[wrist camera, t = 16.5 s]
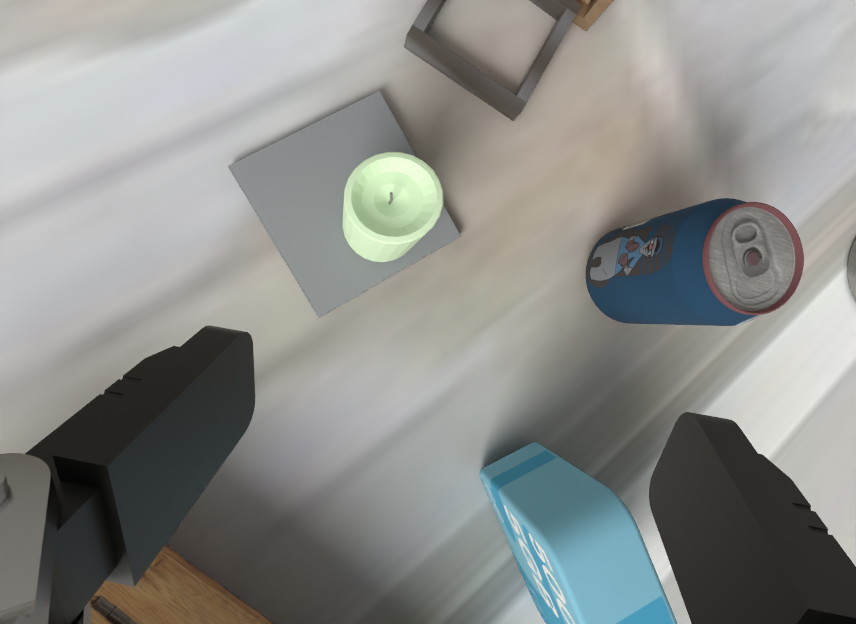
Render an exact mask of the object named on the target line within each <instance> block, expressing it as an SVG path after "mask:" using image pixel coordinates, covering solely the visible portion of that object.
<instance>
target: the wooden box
mask: <svg viewBox="0 0 856 624" xmlns="http://www.w3.org/2000/svg"><path fill="white" fill-rule="evenodd" d="M89 603H90V606H91V624H274V623H273V622H271V621H270V620H268V619H267V618H266V617H265V616H264V615H262V614H261V613H259V612H258V611H257V610H255V609H254V608H252V607H251V606H249V605H248V604H246V603H245V602H244V601H243V600H241V599H240V598H239V597H237V596H235V595H234V594H232V593H231V592H229V591H228V590H227V589H225V588H224V587H223V586H221V585H220V584H219V583H218V582H216V581H215V580H213V579H212V578H211V577H209V576H208V575H206V574H205V573H204V572H202V571H201V570H199V569H198V568H197V567H195V566H194V565H193V564H191V563H190V562H188V561H187V560H186V559H184V558H183V557H181V556H180V555H179V554H177V553H176V552H175V551H173V550H172V549H171V548H169V547H168V546H166V545H164V547H163V548H162V549H161V551H160V552H159V554H158V555H157V556H156V558H155V559H154V561H153V562H152V563H151V565H150V566H149V568H148V569H147V570H146V572H145V573H144V575H143V576H142V577H141V579H140V580H139V582H138V583H137V584H136V586H135V587H132V586H128V585H123V584H118V583H114V582H109V581H105V582H104V583H103V584H102V586H101V587H100V588H99V589H98V591H97V592H96V593H95V594H94V596H93V597H92V598H91V600H90V601H89Z"/></svg>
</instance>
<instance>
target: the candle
mask: <svg viewBox="0 0 856 624" xmlns="http://www.w3.org/2000/svg"><path fill="white" fill-rule="evenodd" d="M442 207H443V190H442V186H441V183H440V180H439V178H438V177H437V175H436V174H435V172H434V170H433V169H432V168H431V167H430V166H428V165H427V164H426V163H425V162H424V161H422V160H420V159H419V158H417V157H415V156H413V155H409V154H406V153H402V152H385V153H381V154H376V155H374V156H372V157H370V158H368V159H366V160H364V161H363V162H362V163H361V164H359V165H358V166H357V167H356V168H355V169H354V171H353V172H352V174H351V175H350V177H349V178H348V181H347V184H346V187H345V190H344V206H343V225H342V227H343V231H344V236H345V238H346V240H347V242H348V244H349V246H350V247H351V248H352V249H353V250H354V251H355V252H356V253H357V254H359V255H360V256H362V257H363V258H365V259H368V260H371V261H374V262H388V261H393V260H396V259H398V258H399V257H401V256H403V255H404V254H405V253H406V252H407V251H409V250H410V249H411V248H412V247H413V246H414V245H415V244H416V243H417V242H418V241H419V240H420V239H421V238H422V237H423V236H424V235H425V234H426V233H427V232H428V231H429V230H430V229H431V228H432V227H433V226H434V225H435V223H436V222H437V220H438V218H439V217H440V214H441V211H442Z"/></svg>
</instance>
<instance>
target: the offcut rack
mask: <svg viewBox="0 0 856 624" xmlns="http://www.w3.org/2000/svg"><path fill="white" fill-rule="evenodd" d="M445 1H446V0H428V1H427V2H426V4H425V5H424V7H423V9H422V10H421V12H420V14H419V15H418V17H417V19H416V20H415V22H414V24H413V25H412V27H411V29H410V30H409V32H408V34H407V37H406V40H405V44H404V47H405V48H406V49H408V50H409V51H411V52H412V53H414V54H415V55H417V56H418V57H420V58H421V59H422V60H424V61H425V62H427V63H428V64H430V65H431V66H433V67H434V68H436V69H437V70H439V71H440V72H442V73H443V74H445V75H446V76H448V77H449V78H451V79H452V80H454V81H455V82H457V83H458V84H459V85H461V86H462V87H464V88H465V89H467V90H468V91H470V92H471V93H473V94H474V95H476V96H477V97H479V98H480V99H482V100H483V101H485V102H486V103H488V104H489V105H491V106H492V107H494V108H495V109H496V110H498V111H499V112H501V113H502V114H504V115H505V116H507V117H508V118H510V119H511V120H513V121H514V120H515V118H516V117H517V116H518V115H519V114H520V113H521V112H522V110H523V108H524V106H525V105H526V103H527V101H528V99H529V97H530V96H531V94H532V92H533V90H534V89H535V87H536V85H537V83H538V81H539V80H540V78H541V76H542V74H543V73H544V71H545V69H546V67H547V65H548V64H549V62H550V60H551V58H552V57H553V55H554V53H555V51H556V50H557V48H558V46H559V44H560V42H561V41H562V39H563V37H564V35H565V34H566V32H567V30H568V28H569V26H570V25H571V23H572V21H573V22H574V23H576V24H577V25H578V26H580V27H581V28H582V29H584V30H585V31H587V30H588V29H589V28H590V26H591V25H592V24H593V23H594V22H595V21H596V20H597V18H598V17H599V16H600V15H601V14H602V13H603V12H604V11H605V9H606V8H607V7H608V6H609V5H610V4H611V3H612V1H613V0H530V1H531V2H533V3H534V4H536V5H537V6H538V7H540V8H541V9H542V10H544V11H545V12H547V13H548V14H549V15H551V16H552V17H553V18H555V19H556V20H557V22H556V24H555V26H554V27H553V29H552V31H551V33H550V34H549V36H548V38H547V40H546V42H545V43H544V45H543V47H542V49H541V50H540V52H539V54H538V56H537V57H536V59H535V61H534V63H533V64H532V66H531V68H530V70H529V72H528V73H527V75H526V77H525V79H524V80H523V82H522V84H521V86H520V87H519V89H518V91H517V93H516V94H513V93H512V92H510V91H509V90H507V89H506V88H505V87H503V86H502V85H500V84H499V83H497V82H496V81H494V80H493V79H491V78H490V77H489V76H487V75H486V74H484V73H483V72H481V71H480V70H478V69H477V68H475V67H474V66H473V65H471V64H470V63H468V62H467V61H465V60H464V59H462V58H461V57H459V56H458V55H456V54H455V53H454V52H452V51H451V50H449V49H448V48H446V47H445V46H443V45H442V44H440V43H439V42H438V41H436V40H435V39H433V38H432V37H430V36H429V35H427V34H426V33H427V31H428V29H429V28H430V26H431V24H432V23H433V21H434V19H435V18H436V16H437V14H438V13H439V11H440V9H441V8H442V6H443V4H444V2H445Z"/></svg>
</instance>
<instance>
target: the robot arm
mask: <svg viewBox="0 0 856 624" xmlns="http://www.w3.org/2000/svg"><path fill="white" fill-rule="evenodd" d="M848 280H849V286H850V290H851V292H852V295H853V298H854V300H855V302H856V240H855V241H854V243H853V246H852V249H851V251H850V255H849V261H848ZM254 406H255V383H254V358H253V341H252V338H251V335H250V334H249V333H248V332H243V331H237V330H232V329H226V328H221V327H215V326H205V327H204V328H202V329H201V330H200V331H199V332H197V333H196V334H195V335H194V336H193V337H192V338H190V339H189V340H188V341H187V342H186V343H184V344H183V345H182V346H181V347H176V346H173V347H171V348H168V349H166V350H164V351H161V352H159V353H157V354H154V355H152V356H150V357H147V358H145V359H144V360H142V361H141V362H140V363H139V364H137V365H136V366H135V367H134V368H132V369H131V370H130V371H129V372H127V373H126V374H125V375H124V376H123V379H122V380H120V379H119V380H117V381H116V382H115V383H114V384H112V385H111V386H110V387H108V388H107V389H106V390H105V393H104V394H103V395H98V396H97V397H96V398H95V399H93V400H92V401H91V402H90V403H88V404H87V405H86V406H85V407H83V408H82V409H81V410H80V411H78V412H77V413H76V414H74V415H73V416H72V417H71V418H69V419H68V420H67V421H66V422H64V423H63V424H62V425H61V426H59V427H58V428H57V429H56V430H54V431H53V432H52V433H51V434H49V435H48V436H47V437H46V438H44V439H43V440H42V441H40V442H39V443H38V444H37V445H35V446H34V447H33V448H32V449H30V450H29V451H28V452H27V453H25V454H18V453H9V454H0V624H91V606H90V603H89V601H90V600H91V598H92V597H93V596H94V594H95V593H96V592H97V591H98V589H99V588H100V587H101V586H102V584H103V583H104V582H105V581H109V582H114V583H118V584H123V585H128V586H132V587H135V586H136V584H137V583H138V582H139V580H140V579H141V577H142V576H143V575H144V573H145V572H146V570H147V569H148V568H149V566H150V565H151V563H152V562H153V561H154V559H155V558H156V556H157V555H158V554H159V552H160V551H161V549H162V548H163V547H164V545H165V544H166V542H167V541H168V540H169V538H170V537H171V535H172V534H173V533H174V531H175V530H176V528H177V527H178V526H179V524H180V523H181V521H182V520H183V519H184V517H185V516H186V514H187V513H188V512H189V510H190V509H191V507H192V506H193V505H194V503H195V502H196V500H197V499H198V497H199V496H200V495H201V493H202V492H203V490H204V489H205V488H206V486H207V485H208V483H209V482H210V481H211V479H212V478H213V476H214V475H215V474H216V472H217V471H218V469H219V468H220V467H221V465H222V464H223V462H224V461H225V460H226V458H227V457H228V455H229V454H230V453H231V451H232V450H233V448H234V447H235V446H236V444H237V443H238V441H239V440H240V439H241V437H242V436H243V434H244V433H245V431H246V430H247V428H248V426H249V424H250V421H251V419H252V415H253V411H254ZM649 500H650V507H651V511H652V514H653V517H654V519H655V522H656V525H657V528H658V531H659V533H660V536H661V539H662V542H663V545H664V547H665V550H666V553H667V556H668V559H669V561H670V564H671V567H672V570H673V572H674V575H675V578H676V581H677V584H678V586H679V589H680V592H681V595H682V598H683V600H684V603H685V606H686V609H687V612H688V614H689V617H690V620H691V623H692V624H856V567H855V565H854V564H853V563H852V561H851V560H850V558H849V557H848V556H847V554H846V553H845V552H844V550H843V549H842V548H841V546H840V545H839V544H838V542H837V541H836V539H835V538H834V537H833V535H828V532H827V531H828V529H827V527H826V526H825V524H824V523H823V522H822V520H821V519H820V518H819V516H818V515H817V514H816V512H814V511H811V509H810V508H811V505H810V504H809V503H808V501H807V500H806V499H805V497H804V496H803V495H802V493H801V492H800V491H799V489H798V488H797V486H796V485H795V484H794V482H793V481H792V480H791V479H790V478H789V477H788V476H787V475H786V474H784V473H783V472H782V471H781V470H780V469H779V468H777V467H776V466H775V465H774V464H773V463H772V462H770V461H769V460H768V459H767V458H766V457H765V456H763V455H762V454H758V453H757V452H756V450H755V449H754V448H753V446H752V445H751V443H750V442H749V440H748V439H747V437H746V436H745V435H744V433H743V432H742V430H741V429H740V427H739V426H738V425H737V424H736V423H735V422H734V421H732V420H729V419H723V418H718V417H712V416H707V415H701V414H695V413H690V412H686V413H683V414H682V415H681V416H680V417H679V418H678V420H677V421H676V423H675V426H674V428H673V430H672V432H671V434H670V437H669V439H668V441H667V443H666V446H665V448H664V450H663V452H662V454H661V457H660V459H659V461H658V463H657V466H656V468H655V470H654V472H653V475H652V478H651V482H650V488H649Z"/></svg>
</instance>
